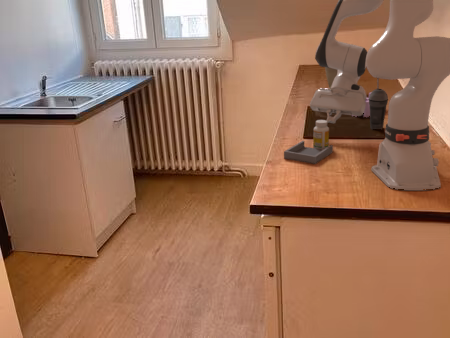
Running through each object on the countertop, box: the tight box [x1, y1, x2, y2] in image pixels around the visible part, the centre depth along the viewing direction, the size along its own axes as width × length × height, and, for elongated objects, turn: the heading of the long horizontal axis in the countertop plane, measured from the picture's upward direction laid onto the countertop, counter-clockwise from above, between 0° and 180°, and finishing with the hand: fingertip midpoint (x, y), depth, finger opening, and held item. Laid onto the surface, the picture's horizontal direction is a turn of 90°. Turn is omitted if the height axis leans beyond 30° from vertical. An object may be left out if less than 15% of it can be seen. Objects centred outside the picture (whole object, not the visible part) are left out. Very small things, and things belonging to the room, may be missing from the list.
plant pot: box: [324, 67, 338, 89], centre depth 239 cm, size 15×15×16 cm
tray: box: [283, 140, 334, 165], centre depth 158 cm, size 13×12×2 cm
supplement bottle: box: [312, 119, 330, 150], centre depth 164 cm, size 5×5×10 cm
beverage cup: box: [368, 78, 389, 130], centre depth 179 cm, size 7×7×20 cm
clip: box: [351, 91, 372, 118], centre depth 206 cm, size 20×12×7 cm, turn 159°
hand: (330, 122), depth 169 cm, fingers closed
